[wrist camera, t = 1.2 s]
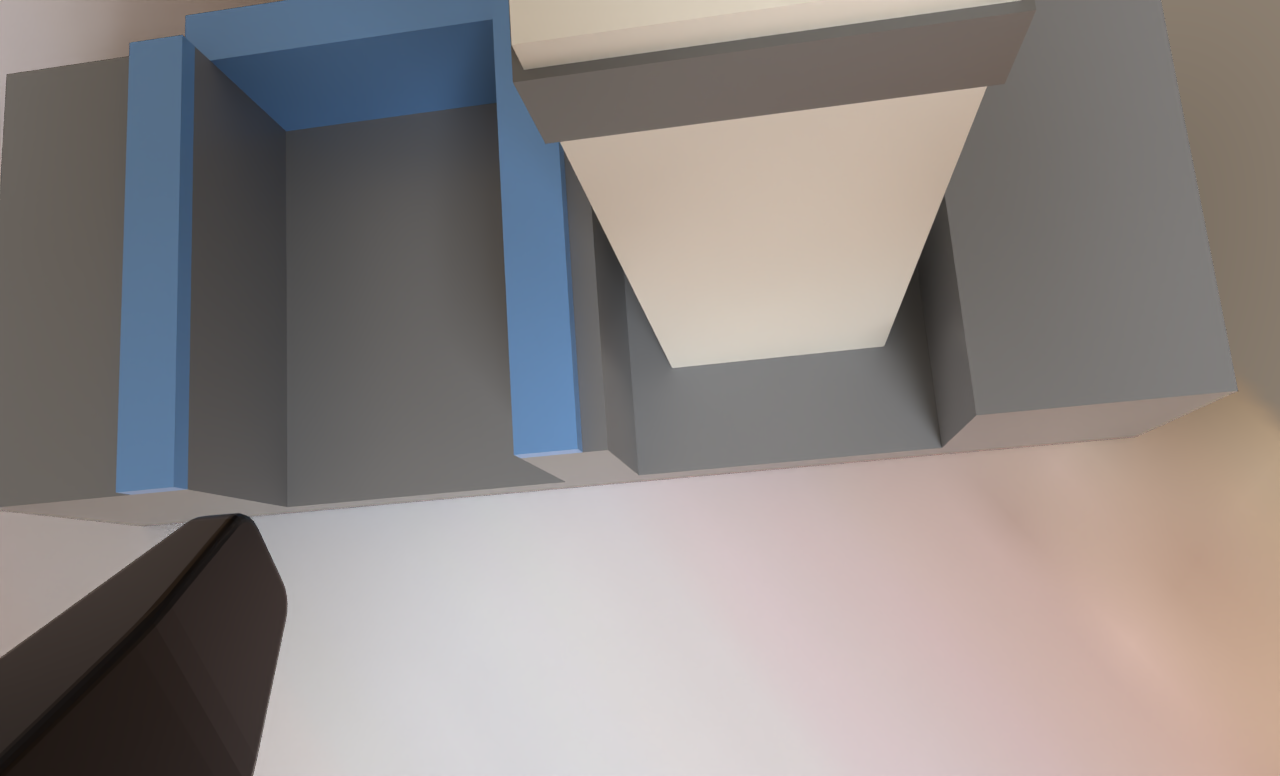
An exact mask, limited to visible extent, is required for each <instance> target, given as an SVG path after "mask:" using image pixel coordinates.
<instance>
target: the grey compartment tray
mask: <svg viewBox="0 0 1280 776" xmlns="http://www.w3.org/2000/svg"><path fill="white" fill-rule="evenodd" d="M1035 5H1036V12H1035V14H1034V17H1033V19H1032V21H1031V24H1030V26H1029V28H1028V31H1027V33H1026V35H1025V38H1024V40H1023V42H1022V45H1021V47H1020V49H1019V52H1018V54H1017V56H1016V59H1015V61H1014V63H1013V66H1012V68H1011V70H1010V73H1009V75H1008V77H1007V80H1006V82H1005V84H1000V85H992V86H987V88H986V90H985V93H984V96H983V98H982V101H981V103H980V106H979V108H978V111H977V113H976V116H975V118H974V121H973V123H972V126H971V128H970V131H969V133H968V136H967V138H966V141H965V143H964V146H963V149H962V151H961V154H960V156H959V159H958V161H957V164H956V166H955V169H954V171H953V174H952V176H951V179H950V181H949V184H948V186H947V189H946V191H945V194H944V196H943V199H942V201H941V204H940V207H939V209H938V212H937V214H936V217H935V219H934V222H933V224H932V227H931V229H930V232H929V234H928V237H927V239H926V242H925V244H924V247H923V249H922V252H921V254H920V257H919V260H918V262H917V265H916V267H915V270H914V272H913V275H912V277H911V280H910V282H909V285H908V287H907V290H906V292H905V295H904V297H903V300H902V302H901V305H900V307H899V310H898V312H897V315H896V318H895V320H894V323H893V325H892V328H891V330H890V333H889V335H888V338H887V340H886V343H885V345H884V346H883V347H873V348H864V349H854V350H844V351H834V352H825V353H815V354H805V355H795V356H786V357H776V358H766V359H756V360H747V361H737V362H727V363H718V364H708V365H698V366H688V367H679V368H672V367H671V365H670V363H669V361H668V359H667V357H666V355H665V353H664V351H663V349H662V347H661V345H660V343H659V341H658V339H657V337H656V334H655V332H654V330H653V328H652V326H651V324H650V322H649V320H648V318H647V316H646V314H645V312H644V310H643V308H642V306H641V304H640V302H639V300H638V298H637V296H636V294H635V292H634V290H633V288H632V286H631V284H630V282H629V280H628V278H627V276H626V274H625V272H624V270H623V268H622V266H621V264H620V262H619V260H618V258H617V256H616V254H615V252H614V250H613V248H612V246H611V244H610V242H609V240H608V238H607V236H606V234H605V232H604V230H603V228H602V226H601V224H600V222H599V220H598V218H597V216H596V214H595V212H594V210H593V208H592V206H591V204H590V202H589V200H588V198H587V196H586V194H585V192H584V190H583V188H582V186H581V184H580V182H579V180H578V177H577V175H576V173H575V171H574V169H573V167H572V165H571V163H570V161H569V159H568V157H567V155H566V153H565V151H564V149H563V147H562V145H561V143H560V142H555V143H548V144H545V142H544V140H543V138H542V136H541V135H540V133H539V131H538V129H537V127H536V125H535V123H534V121H533V119H532V118H531V116H530V114H529V112H528V110H527V108H526V106H525V104H524V103H523V101H522V99H521V97H520V95H519V93H518V91H517V89H516V87H515V86H514V84H513V76H512V57H511V38H510V19H509V0H284V1H278V2H271V3H265V4H258V5H251V6H245V7H238V8H232V9H225V10H219V11H212V12H205V13H199V14H192V15H186V16H185V37H184V36H183V35H178V36H171V37H165V38H158V39H151V40H145V41H138V42H131V43H130V46H129V56H128V57H121V58H114V59H108V60H101V61H94V62H87V63H80V64H74V65H67V66H60V67H53V68H47V69H40V70H33V71H26V72H20V73H13V74H7V77H6V95H5V112H4V129H3V147H2V164H1V182H0V511H6V512H15V513H25V514H34V515H43V516H52V517H62V518H71V519H80V520H89V521H99V522H108V523H117V524H126V525H136V526H152V525H163V524H174V523H185V522H189V521H190V520H192V519H194V518H197V517H201V516H209V515H220V514H232V513H241V514H244V515H247V516H248V517H252V516H263V515H274V514H285V513H296V512H307V511H318V510H330V509H341V508H352V507H363V506H374V505H385V504H396V503H407V502H419V501H430V500H441V499H452V498H463V497H474V496H485V495H496V494H508V493H519V492H530V491H541V490H552V489H563V488H574V487H585V486H597V485H608V484H619V483H630V482H641V481H652V480H663V479H674V478H686V477H697V476H708V475H719V474H730V473H741V472H752V471H763V470H775V469H786V468H797V467H808V466H819V465H830V464H841V463H852V462H864V461H875V460H886V459H897V458H908V457H919V456H930V455H941V454H953V453H964V452H975V451H986V450H997V449H1008V448H1019V447H1030V446H1042V445H1053V444H1064V443H1075V442H1086V441H1097V440H1108V439H1119V438H1131V437H1137V436H1139V435H1142V434H1144V433H1146V432H1148V431H1150V430H1153V429H1155V428H1157V427H1159V426H1161V425H1164V424H1166V423H1168V422H1170V421H1173V420H1175V419H1177V418H1179V417H1181V416H1184V415H1186V414H1188V413H1190V412H1192V411H1195V410H1197V409H1199V408H1201V407H1203V406H1206V405H1208V404H1210V403H1212V402H1215V401H1217V400H1219V399H1221V398H1223V397H1226V396H1228V395H1230V394H1232V393H1234V392H1237V391H1238V389H1237V383H1236V378H1235V373H1234V368H1233V363H1232V358H1231V353H1230V348H1229V343H1228V338H1227V333H1226V328H1225V323H1224V318H1223V313H1222V308H1221V303H1220V297H1219V292H1218V287H1217V282H1216V277H1215V272H1214V267H1213V262H1212V257H1211V252H1210V247H1209V242H1208V236H1207V231H1206V226H1205V221H1204V217H1203V211H1202V206H1201V201H1200V196H1199V191H1198V186H1197V181H1196V176H1195V171H1194V166H1193V160H1192V155H1191V150H1190V145H1189V141H1188V135H1187V130H1186V125H1185V120H1184V115H1183V110H1182V105H1181V100H1180V95H1179V89H1178V85H1177V79H1176V75H1175V69H1174V65H1173V59H1172V54H1171V49H1170V44H1169V39H1168V34H1167V29H1166V24H1165V18H1164V13H1163V9H1162V3H1161V0H1035Z"/></svg>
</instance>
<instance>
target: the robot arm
mask: <svg viewBox="0 0 1280 776" xmlns="http://www.w3.org/2000/svg"><path fill="white" fill-rule="evenodd" d="M286 616H287V595H286V590H285V587H284V584H283V581H282V579H281V577H280V575H279V573H278V570H277V568H276V566H275V564H274V562H273V560H272V557H271V555H270V553H269V551H268V549H267V547H266V545H265V542H264V540H263V538H262V536H261V534H260V532H259V530H258V528H257V526H256V524H255V523H254V521H253V520H252V519H251V518H250V517H248V516H247V515H244V514H241V513H232V514H220V515H209V516H201V517H197V518H194V519H192V520H190V521H189V522H187V523H186V524H184V525H183V526H182V527H180V528H179V529H178V530H176V531H175V532H173V533H172V534H171V535H169V536H168V537H166V538H165V539H164V540H162V541H161V542H160V543H158V544H157V545H155V546H154V547H153V548H151V549H150V550H149V551H147V552H146V553H144V554H143V555H142V556H140V557H139V558H137V559H136V560H135V561H133V562H132V563H131V564H129V565H128V566H126V567H125V568H124V569H122V570H121V571H120V572H118V573H117V574H115V575H114V576H113V577H111V578H110V579H108V580H107V581H106V582H104V583H103V584H102V585H100V586H99V587H97V588H96V589H95V590H93V591H92V592H91V593H89V594H88V595H86V596H85V597H84V598H82V599H81V600H79V601H78V602H77V603H75V604H74V605H73V606H71V607H70V608H68V609H67V610H66V611H64V612H63V613H62V614H60V615H59V616H57V617H56V618H55V619H53V620H52V621H50V622H49V623H48V624H46V625H45V626H44V627H42V628H41V629H39V630H38V631H37V632H35V633H34V634H33V635H31V636H30V637H28V638H27V639H26V640H24V641H23V642H21V643H20V644H19V645H17V646H16V647H15V648H13V649H12V650H10V651H9V652H8V653H6V654H5V655H4V656H2V657H1V658H0V776H253V773H254V769H255V765H256V761H257V756H258V751H259V747H260V742H261V737H262V732H263V727H264V723H265V718H266V713H267V708H268V703H269V699H270V694H271V689H272V684H273V679H274V675H275V670H276V665H277V660H278V655H279V651H280V646H281V641H282V636H283V631H284V627H285V622H286Z"/></svg>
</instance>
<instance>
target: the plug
mask: <svg viewBox="0 0 1280 776" xmlns="http://www.w3.org/2000/svg"><path fill="white" fill-rule="evenodd" d="M1035 12H1036V5H1035V0H509V19H510V38H511V57H512V76H513V84H514V86H515V87H516V89H517V91H518V93H519V95H520V97H521V99H522V101H523V103H524V104H525V106H526V108H527V110H528V112H529V114H530V116H531V118H532V119H533V121H534V123H535V125H536V127H537V129H538V131H539V133H540V135H541V136H542V138H543V140H544V142H545V144H548V143H555V142H560V143H561V145H562V147H563V149H564V151H565V153H566V155H567V157H568V159H569V161H570V163H571V165H572V167H573V169H574V171H575V173H576V175H577V177H578V180H579V182H580V184H581V186H582V188H583V190H584V192H585V194H586V196H587V198H588V200H589V202H590V204H591V206H592V208H593V210H594V212H595V214H596V216H597V218H598V220H599V222H600V224H601V226H602V228H603V230H604V232H605V234H606V236H607V238H608V240H609V242H610V244H611V246H612V248H613V250H614V252H615V254H616V256H617V258H618V260H619V262H620V264H621V266H622V268H623V270H624V272H625V274H626V276H627V278H628V280H629V282H630V284H631V286H632V288H633V290H634V292H635V294H636V296H637V298H638V300H639V302H640V304H641V306H642V308H643V310H644V312H645V314H646V316H647V318H648V320H649V322H650V324H651V326H652V328H653V330H654V332H655V334H656V337H657V339H658V341H659V343H660V345H661V347H662V349H663V351H664V353H665V355H666V357H667V359H668V361H669V363H670V365H671V367H672V368H679V367H688V366H698V365H708V364H718V363H727V362H737V361H747V360H756V359H766V358H776V357H786V356H795V355H805V354H815V353H825V352H834V351H844V350H854V349H864V348H873V347H883V346H884V345H885V343H886V340H887V338H888V335H889V333H890V330H891V328H892V325H893V323H894V320H895V318H896V315H897V312H898V310H899V307H900V305H901V302H902V300H903V297H904V295H905V292H906V290H907V287H908V285H909V282H910V280H911V277H912V275H913V272H914V270H915V267H916V265H917V262H918V260H919V257H920V254H921V252H922V249H923V247H924V244H925V242H926V239H927V237H928V234H929V232H930V229H931V227H932V224H933V222H934V219H935V217H936V214H937V212H938V209H939V207H940V204H941V201H942V199H943V196H944V194H945V191H946V189H947V186H948V184H949V181H950V179H951V176H952V174H953V171H954V169H955V166H956V164H957V161H958V159H959V156H960V154H961V151H962V149H963V146H964V143H965V141H966V138H967V136H968V133H969V131H970V128H971V126H972V123H973V121H974V118H975V116H976V113H977V111H978V108H979V106H980V103H981V101H982V98H983V96H984V93H985V90H986V88H987V86H992V85H1000V84H1005V82H1006V80H1007V77H1008V75H1009V73H1010V70H1011V68H1012V66H1013V63H1014V61H1015V59H1016V56H1017V54H1018V52H1019V49H1020V47H1021V45H1022V42H1023V40H1024V38H1025V35H1026V33H1027V31H1028V28H1029V26H1030V24H1031V21H1032V19H1033V17H1034V14H1035Z"/></svg>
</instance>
